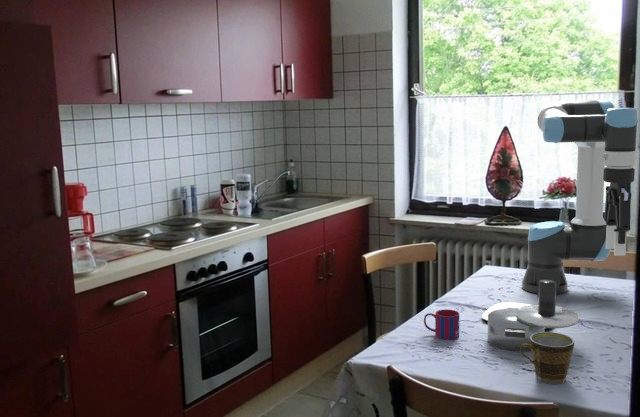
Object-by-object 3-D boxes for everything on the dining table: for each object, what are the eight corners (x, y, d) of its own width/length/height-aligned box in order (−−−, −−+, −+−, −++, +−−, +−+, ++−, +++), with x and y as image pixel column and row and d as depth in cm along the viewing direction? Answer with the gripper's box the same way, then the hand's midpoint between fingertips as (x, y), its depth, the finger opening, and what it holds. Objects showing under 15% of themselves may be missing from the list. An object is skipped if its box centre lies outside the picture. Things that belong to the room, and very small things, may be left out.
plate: (567, 315, 207) (567, 309, 207) (547, 336, 189) (547, 330, 189) (499, 304, 219) (499, 299, 219) (474, 323, 201) (474, 318, 201)
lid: (516, 307, 191) (517, 272, 190) (576, 310, 187) (577, 275, 185) (515, 325, 176) (516, 288, 175) (580, 330, 172) (581, 292, 170)
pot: (489, 327, 197) (490, 304, 196) (543, 331, 192) (543, 307, 191) (485, 352, 178) (485, 327, 177) (544, 357, 173) (545, 331, 172)
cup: (456, 341, 187) (456, 317, 185) (421, 337, 191) (421, 314, 189) (461, 333, 193) (461, 310, 191) (427, 329, 197) (427, 307, 195)
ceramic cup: (559, 368, 166) (561, 330, 164) (581, 385, 156) (582, 344, 155) (510, 373, 164) (511, 334, 163) (529, 390, 154) (530, 349, 153)
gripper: (594, 163, 186) (590, 243, 190) (615, 171, 167) (611, 260, 170) (622, 163, 185) (618, 243, 189) (647, 170, 166) (642, 260, 169)
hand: (615, 251), depth 180 cm, fingers open, 7 cm apart
